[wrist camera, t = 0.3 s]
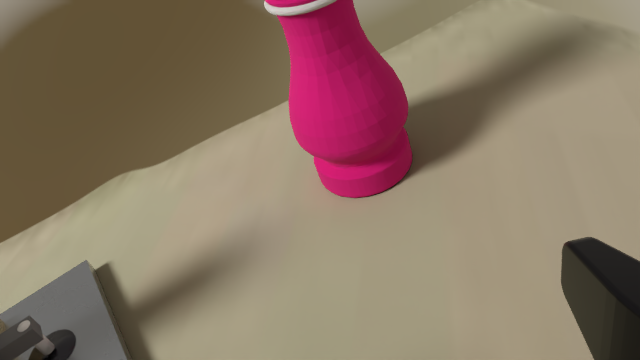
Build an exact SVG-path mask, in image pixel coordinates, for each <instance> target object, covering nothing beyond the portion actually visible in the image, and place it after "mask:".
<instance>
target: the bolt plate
mask: <svg viewBox="0 0 640 360" xmlns="http://www.w3.org/2000/svg"><path fill="white" fill-rule="evenodd" d="M29 315H30V316H31V317H32V318H33V319H34V320H35V321H36V322H37V323H38V324H39V325H40V326H41V330H42V334H43V335H44V336H45V337H46V338H47V339H49V340H50V341H51V342H52V343H53V344H54V345H55V348H54V350H53V351H52V352H51V353H50V354H48V355H43V354H42V353H41V352H40V351H39V350H38V349H37V348H36V347H35V346H33V347H31V348H30V349H28V350H27V351H25V352H24V353H22V354H21V355H19V356H18V357H16V358H15V359H13V360H132V358H131V356H130V353H129V351H128V348H127V346H126V344H125V341H124V339H123V336H122V334H121V332H120V329H119V327H118V324H117V322H116V320H115V317H114V315H113V312H112V310H111V308H110V305H109V303H108V300H107V298H106V295H105V293H104V291H103V288H102V286H101V283H100V281H99V279H98V276H97V274H96V271H95V269H94V268H93V267H92V266H91V265H90V263H89V262H88V261H87V260H85V261H84V262H82V263H81V264H79V265H78V266H76V267H74V268H73V269H71V270H70V271H68V272H66V273H65V274H63V275H62V276H60V277H58V278H57V279H55V280H54V281H52V282H51V283H49V284H47V285H46V286H44V287H43V288H41V289H39V290H38V291H36V292H35V293H33V294H32V295H30V296H28V297H27V298H25V299H24V300H22V301H20V302H19V303H17V304H16V305H14V306H12V307H11V308H9V309H8V310H6V311H5V312H3V313H1V314H0V334H1V333H2V332H4V331H6V330H7V329H9V328H10V327H12V326H13V325H15V324H17V323H18V322H20V321H21V320H23V319H24V318H26V317H27V316H29Z"/></svg>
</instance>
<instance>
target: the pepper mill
mask: <svg viewBox="0 0 640 360" xmlns="http://www.w3.org/2000/svg"><path fill="white" fill-rule="evenodd" d="M264 5H265V8H266V10H267V11H268V12H270V13H271V14H274V15H277V17H278V19H279V21H280V23H281V25H282V27H283V29H284V33H285V36H286V39H287V43H288V46H289V52H290V60H291V76H290V90H289V112H290V121H291V124H292V128H293V131H294V135H295V137H296V140H297V141H298V143H299V144H300V146H301V147H302V148H303V149H305V150H306V151H307V152H308V153H310V154H311V155H313V156H314V164H315V166H316V169H317V172H318V174H319V177H320V179H321V182H322V184H323V185H324V186H325V187H326V188H327V189H328V190H329V191H331V192H332V193H334V194H337V195H339V196H343V197H352V198H358V197H366V196H371V195H374V194H377V193H380V192H383V191H385V190H386V189H388V188H390V187H392V186H393V185H395V184H396V183H397V182H399V181H400V180H401V179H402V178H403V177H404V176H405V174H406V173H407V172H408V170H409V168H410V166H411V163H412V151H411V147H410V143H409V139H408V135H407V132H406V130H405V129H404V127H403V126H404V124H405V122H406V119H407V115H408V101H407V97H406V94H405V92H404V89H403V86H402V83H401V82H400V80H399V78H398V77H397V75H396V73H395V72H394V70H393V69H392V67H391V66H390V65H389V64H388V63H387V62H386V61H385V60H384V58H383V57H382V56H381V55H380V54H379V53H378V52H377V51H376V49H375V48H374V47H373V46H372V44H371V43H370V42H369V41H368V39H367V37H366V35H365V33H364V31H363V30H362V28H361V26H360V23H359V20H358V17H357V14H356V11H355V8H354V4H353V0H265V2H264Z"/></svg>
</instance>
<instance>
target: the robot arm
mask: <svg viewBox="0 0 640 360" xmlns="http://www.w3.org/2000/svg"><path fill="white" fill-rule="evenodd" d="M561 284H562V289H563V292H564V295H565V298H566V300H567V302H568V304H569V306H570V308H571V311H572V313H573V315H574V317H575V319H576V321H577V323H578V326H579V328H580V330H581V332H582V334H583V336H584V339H585V341H586V343H587V345H588V347H589V349H590V352H591V354H592V356H593V358H594V360H640V261H638V260H636V259H634V258H633V257H631V256H629V255H627V254H625V253H623V252H621V251H619V250H617V249H615V248H613V247H611V246H609V245H607V244H605V243H603V242H602V241H600V240H598V239H595V238H592V237H585V238H581V239H576V240H572V241H568V242H566V243H565V244H564V245H563V249H562V269H561Z"/></svg>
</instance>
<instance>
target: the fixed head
mask: <svg viewBox="0 0 640 360" xmlns="http://www.w3.org/2000/svg"><path fill="white" fill-rule="evenodd" d="M33 346H35V347H36V348H37V349H38V350H39V351H40V352H41V353H42V354H43V355H48V354H50V353H51V352H52V351H53V350H54V348H55V345H54V344H53V343H52V342H51V341H50V340H49V339H47V338H46V337H45V336H44V335H43V334H42V330H41V326H40V325H39V324H38V323H37V322H36V321H35V320H34V319H33V318H32V317H31V316H30V315H29V316H27V317H26V318H24V319H23V320H21V321H20V322H18V323H17V324H15V325H13V326H12V327H10V328H9V329H7V330H6V331H4V332H2V333H1V334H0V360H13V359H15V358H16V357H18V356H19V355H21V354H22V353H24V352H25V351H27V350H28V349H30V348H31V347H33Z"/></svg>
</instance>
